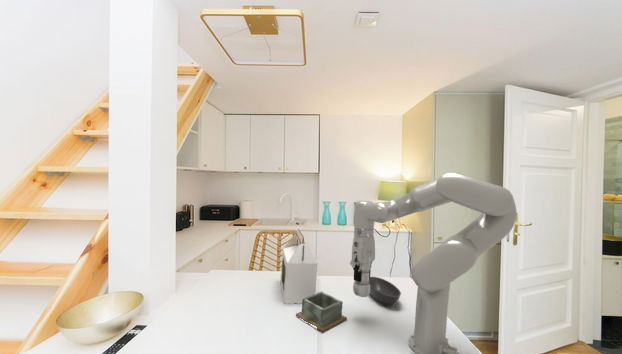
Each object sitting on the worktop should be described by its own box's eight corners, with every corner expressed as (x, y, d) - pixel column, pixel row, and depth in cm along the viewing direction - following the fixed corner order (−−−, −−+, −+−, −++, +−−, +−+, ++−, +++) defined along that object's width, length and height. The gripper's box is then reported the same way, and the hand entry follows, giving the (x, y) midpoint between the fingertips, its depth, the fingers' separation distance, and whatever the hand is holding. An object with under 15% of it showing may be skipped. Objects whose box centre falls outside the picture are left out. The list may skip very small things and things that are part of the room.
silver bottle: (370, 300, 100) (372, 246, 100) (352, 297, 101) (354, 245, 101) (370, 293, 106) (371, 243, 106) (352, 291, 107) (354, 241, 108)
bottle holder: (346, 320, 103) (348, 302, 103) (322, 333, 93) (323, 313, 93) (320, 305, 113) (321, 289, 113) (295, 316, 103) (297, 298, 103)
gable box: (280, 282, 134) (284, 227, 134) (306, 282, 136) (310, 228, 136) (284, 304, 112) (288, 238, 112) (314, 303, 114) (319, 239, 114)
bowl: (381, 312, 111) (382, 297, 111) (359, 289, 133) (360, 277, 133) (407, 310, 114) (408, 296, 114) (381, 288, 136) (382, 276, 136)
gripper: (359, 236, 95) (357, 287, 95) (383, 231, 107) (381, 276, 107) (342, 233, 101) (340, 281, 100) (367, 228, 113) (366, 271, 112)
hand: (362, 278), depth 104 cm, fingers closed on silver bottle, 5 cm apart
